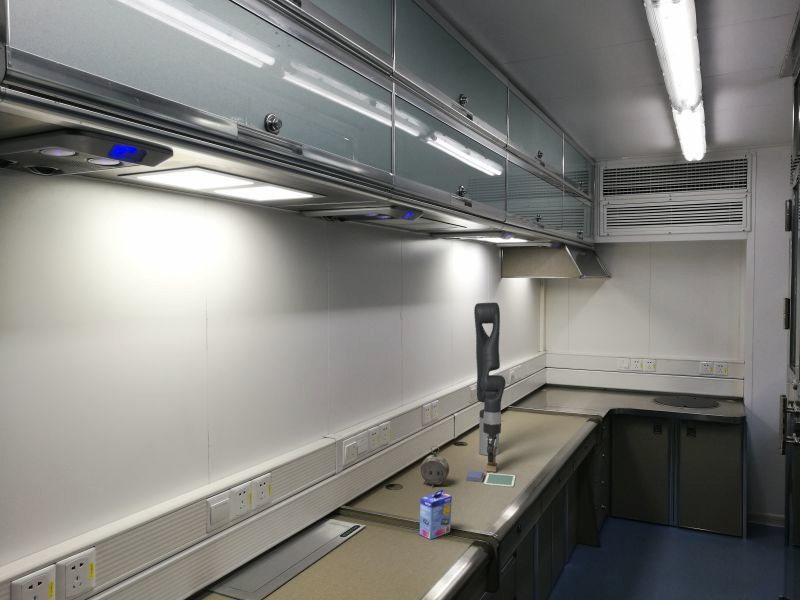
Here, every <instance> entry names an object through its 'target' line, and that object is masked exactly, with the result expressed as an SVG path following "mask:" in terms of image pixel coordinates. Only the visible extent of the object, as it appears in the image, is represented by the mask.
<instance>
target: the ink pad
mask: <svg viewBox="0 0 800 600" xmlns="http://www.w3.org/2000/svg"><path fill="white" fill-rule="evenodd" d="M484 477H485V472H483V471H478V470H477V471H474V470H469V471H468V473H467V474H466V477H465V481H466V482H467V481H468V482H476V483H482V482H483V480H484Z"/></svg>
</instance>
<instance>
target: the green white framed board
mask: <svg viewBox="0 0 800 600" xmlns="http://www.w3.org/2000/svg"><path fill="white" fill-rule="evenodd" d="M515 479H516V475H515V474H507V473H506V474H504V473H490V472H486V476H485V480H484V482H483V486H494V487H495V486H496V487H504V488H505V487H506V488H507V487H508V488H514V486H515V481H516V480H515Z"/></svg>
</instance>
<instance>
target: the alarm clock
mask: <svg viewBox="0 0 800 600" xmlns="http://www.w3.org/2000/svg"><path fill="white" fill-rule="evenodd" d="M434 447H436V448H437V449H438V451H437V452H436V451H434V452H433V450H432V449H433V448H434ZM430 452H431V453H432V454H430V455H428V456H427V457H426V458H424V460H423V461H422V463H421V465H420V474H421V477H422V478H423V480H424V481H423V485H425V484H426V483H428V484H430V485H431V487H432V488H434V487H435V485H440V484H443V487H446V486H447V485H446V483H445V481H446V479H447V478H448V476H449V473H450V467H449V463H448V461H447V460H446V458H444V457H443V456H441V455H438V453H439V452H440V448H439V446H437V445H432V446H431V447H430Z"/></svg>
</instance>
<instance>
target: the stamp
mask: <svg viewBox="0 0 800 600" xmlns="http://www.w3.org/2000/svg"><path fill="white" fill-rule="evenodd" d="M496 449H497V446H495V449H494V453H493V462H488V461H487V463H486V466H485V467H486V469H485V470H486V473H490V472H493V473H494V474H496V472H497V468H498V463H497V460H496V456H497V455H496ZM489 450H492V448H490V449H489Z"/></svg>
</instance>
